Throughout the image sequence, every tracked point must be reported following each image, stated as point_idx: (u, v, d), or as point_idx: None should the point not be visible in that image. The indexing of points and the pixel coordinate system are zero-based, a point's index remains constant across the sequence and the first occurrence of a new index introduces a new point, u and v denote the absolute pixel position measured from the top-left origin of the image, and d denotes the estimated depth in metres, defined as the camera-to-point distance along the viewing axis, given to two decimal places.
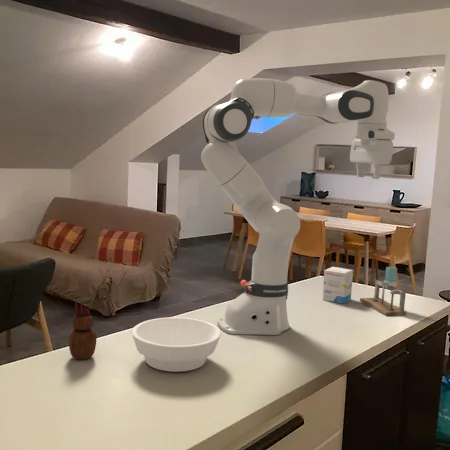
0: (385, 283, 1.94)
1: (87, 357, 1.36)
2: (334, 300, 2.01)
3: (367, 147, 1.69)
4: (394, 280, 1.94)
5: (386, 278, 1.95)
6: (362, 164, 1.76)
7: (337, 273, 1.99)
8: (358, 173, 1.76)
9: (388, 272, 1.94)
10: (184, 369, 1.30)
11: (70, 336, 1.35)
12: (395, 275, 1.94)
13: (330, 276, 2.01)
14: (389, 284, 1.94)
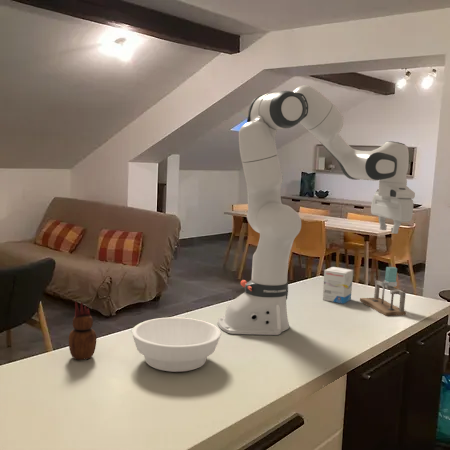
0: (385, 283, 1.94)
1: (87, 357, 1.36)
2: (334, 300, 2.01)
3: (388, 203, 1.80)
4: (394, 280, 1.94)
5: (386, 278, 1.95)
6: (384, 218, 1.87)
7: (337, 273, 1.99)
8: (381, 226, 1.86)
9: (388, 272, 1.94)
10: (184, 369, 1.30)
11: (70, 336, 1.35)
12: (395, 275, 1.94)
13: (330, 276, 2.00)
14: (389, 284, 1.94)
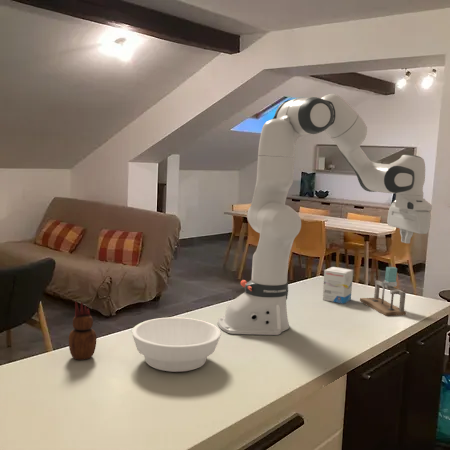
0: (385, 283, 1.94)
1: (87, 357, 1.36)
2: (334, 300, 2.01)
3: (405, 215, 1.84)
4: (394, 280, 1.94)
5: (386, 278, 1.95)
6: (406, 230, 1.87)
7: (337, 273, 1.99)
8: (402, 239, 1.87)
9: (388, 272, 1.94)
10: (184, 369, 1.30)
11: (70, 336, 1.35)
12: (395, 275, 1.94)
13: (330, 276, 2.01)
14: (389, 284, 1.94)
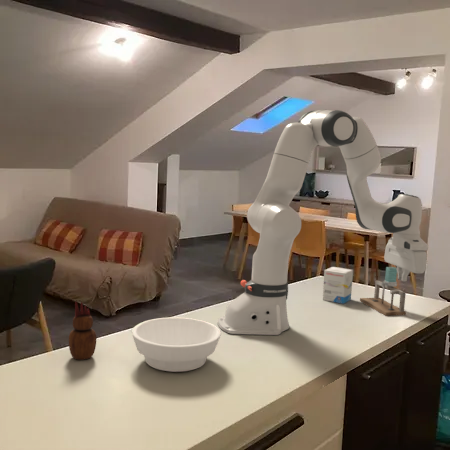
0: (385, 283, 1.94)
1: (87, 357, 1.36)
2: (334, 300, 2.01)
3: (402, 254, 1.86)
4: (394, 280, 1.94)
5: (386, 278, 1.95)
6: (402, 268, 1.89)
7: (337, 273, 1.99)
8: (399, 276, 1.89)
9: (388, 272, 1.94)
10: (184, 369, 1.30)
11: (70, 336, 1.35)
12: (395, 275, 1.94)
13: (330, 276, 2.00)
14: (389, 284, 1.94)
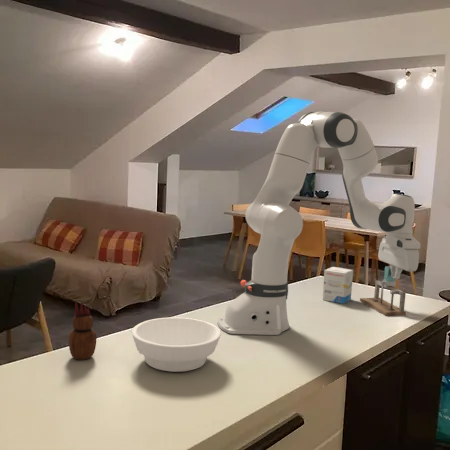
0: (384, 282, 1.95)
1: (87, 357, 1.36)
2: (334, 300, 2.01)
3: (395, 252, 1.90)
4: (393, 279, 1.95)
5: (385, 278, 1.96)
6: (396, 266, 1.93)
7: (337, 273, 1.99)
8: (392, 274, 1.93)
9: (387, 272, 1.95)
10: (184, 369, 1.30)
11: (70, 336, 1.35)
12: None
13: (330, 276, 2.01)
14: (388, 283, 1.94)
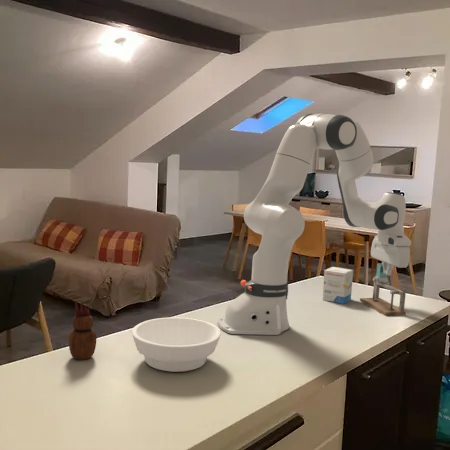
0: (376, 279, 2.00)
1: (87, 357, 1.36)
2: (334, 300, 2.01)
3: (387, 249, 1.95)
4: (385, 276, 2.00)
5: (377, 274, 2.01)
6: (387, 262, 1.98)
7: (337, 273, 1.99)
8: (384, 271, 1.98)
9: (379, 268, 2.00)
10: (184, 369, 1.30)
11: (70, 336, 1.35)
12: None
13: (330, 276, 2.01)
14: (380, 280, 2.00)
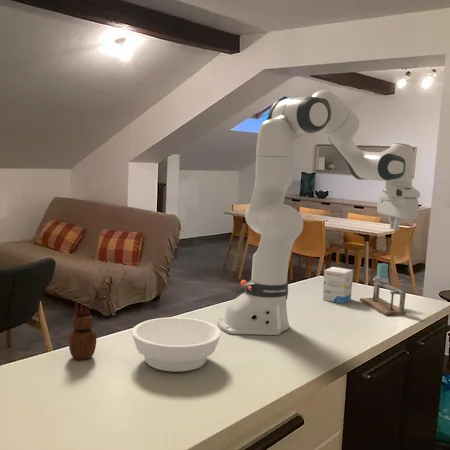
0: (376, 279, 2.00)
1: (87, 357, 1.36)
2: (334, 300, 2.01)
3: (394, 202, 1.89)
4: (385, 276, 2.00)
5: (377, 274, 2.01)
6: (395, 217, 1.92)
7: (337, 273, 1.99)
8: (391, 225, 1.92)
9: (379, 268, 2.00)
10: (184, 369, 1.30)
11: (70, 336, 1.35)
12: (386, 271, 2.00)
13: (330, 276, 2.01)
14: (380, 280, 1.99)
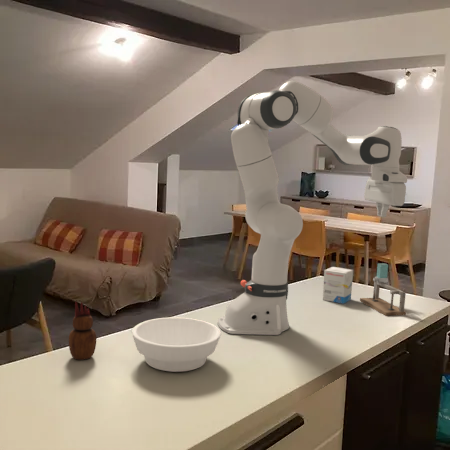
0: (376, 279, 2.00)
1: (87, 357, 1.36)
2: (334, 300, 2.01)
3: (381, 188, 1.81)
4: (385, 276, 2.00)
5: (377, 274, 2.01)
6: (382, 204, 1.85)
7: (337, 273, 1.99)
8: (378, 212, 1.84)
9: (379, 268, 2.00)
10: (184, 369, 1.30)
11: (70, 336, 1.35)
12: (386, 271, 2.00)
13: (330, 276, 2.01)
14: (380, 280, 1.99)
